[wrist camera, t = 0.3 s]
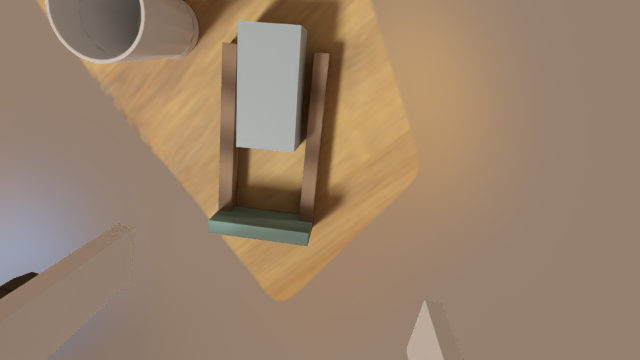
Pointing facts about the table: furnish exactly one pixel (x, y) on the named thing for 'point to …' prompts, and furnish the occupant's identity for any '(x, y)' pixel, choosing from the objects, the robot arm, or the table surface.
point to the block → (270, 85)
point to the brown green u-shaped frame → (230, 215)
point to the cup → (124, 28)
